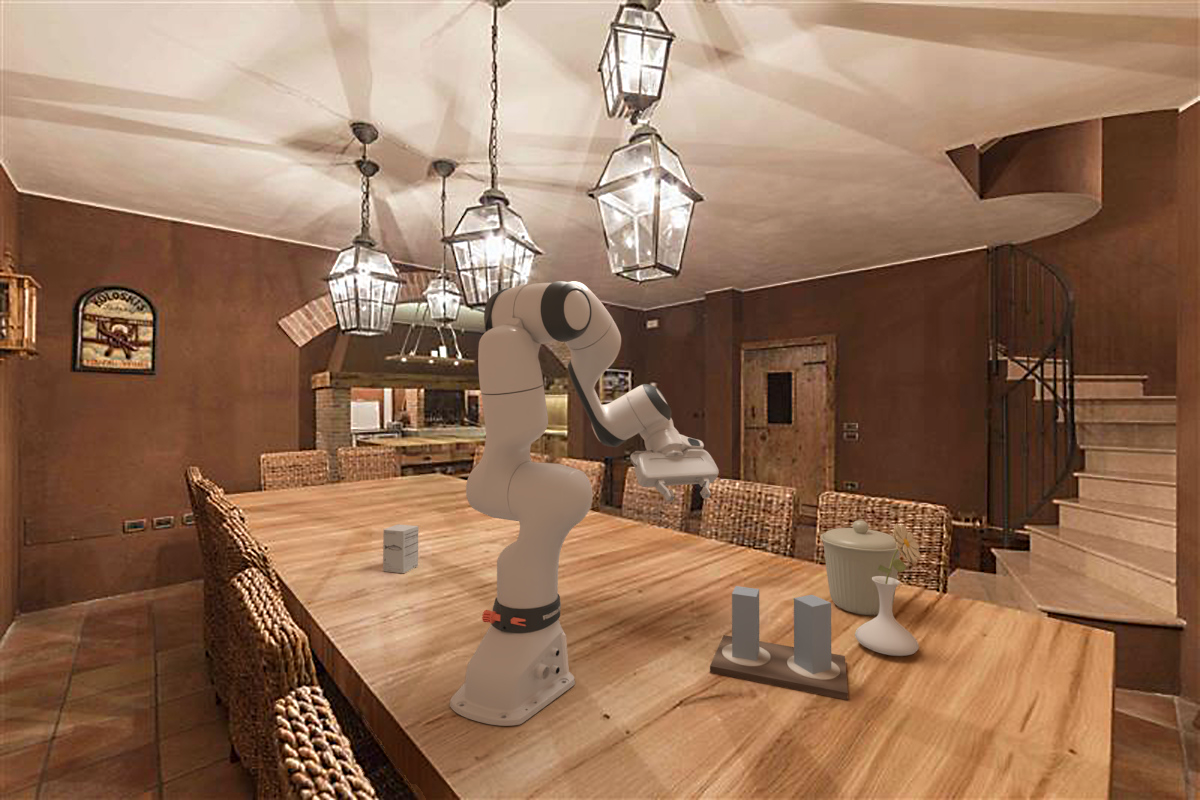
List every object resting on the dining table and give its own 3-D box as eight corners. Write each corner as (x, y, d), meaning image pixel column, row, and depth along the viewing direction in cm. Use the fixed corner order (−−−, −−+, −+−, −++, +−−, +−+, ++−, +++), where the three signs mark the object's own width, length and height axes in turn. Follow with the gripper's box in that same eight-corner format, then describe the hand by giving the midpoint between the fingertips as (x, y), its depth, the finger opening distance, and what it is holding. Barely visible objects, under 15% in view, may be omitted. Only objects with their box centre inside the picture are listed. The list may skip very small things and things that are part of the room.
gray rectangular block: (831, 669, 95) (831, 602, 95) (812, 674, 93) (812, 606, 93) (812, 658, 99) (811, 594, 99) (794, 662, 97) (793, 598, 97)
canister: (921, 623, 118) (920, 529, 118) (841, 623, 118) (840, 529, 118) (878, 593, 136) (877, 512, 136) (808, 594, 136) (808, 512, 136)
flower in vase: (885, 665, 99) (884, 533, 99) (842, 639, 110) (841, 520, 110) (939, 656, 103) (939, 528, 103) (893, 632, 114) (892, 516, 114)
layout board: (847, 700, 88) (847, 691, 88) (710, 672, 97) (710, 664, 97) (844, 662, 100) (844, 654, 100) (723, 640, 110) (723, 634, 110)
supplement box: (382, 572, 155) (382, 529, 155) (398, 564, 162) (398, 523, 162) (403, 574, 153) (403, 530, 153) (419, 566, 160) (419, 525, 160)
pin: (756, 661, 98) (756, 596, 98) (732, 656, 100) (731, 593, 100) (759, 650, 102) (759, 589, 102) (735, 646, 104) (735, 585, 104)
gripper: (632, 442, 119) (652, 491, 110) (707, 440, 127) (732, 486, 118) (623, 460, 123) (642, 509, 114) (697, 457, 131) (720, 503, 122)
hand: (689, 497), depth 116 cm, fingers open, 8 cm apart
